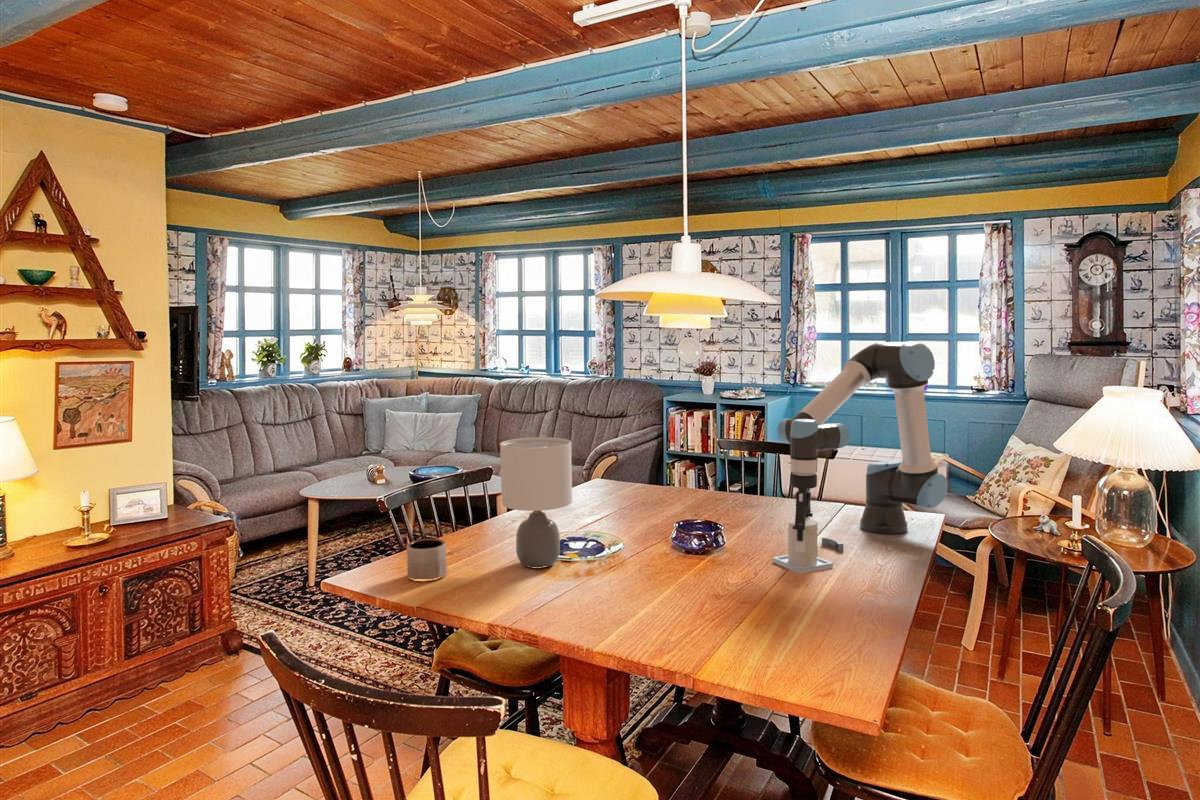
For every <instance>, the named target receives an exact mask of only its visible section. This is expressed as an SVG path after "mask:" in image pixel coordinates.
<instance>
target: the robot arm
mask: <svg viewBox="0 0 1200 800" xmlns="http://www.w3.org/2000/svg"><path fill="white" fill-rule="evenodd" d="M935 365H936V363H935V357H934V354H933V352H932V351H931V349H930V348H929V347H928V346H927V345H926V344H924V343H922V342H913V341H890V342H889V341H888V342H887V341H881V342H880V341H879V342H876V343H873V344H871V345H868V346H866V347H865V348H863V349H861V350H860V351H859V352H857V353H856V354H855V355H853V356H852V357H850V358H849V360H847V362H845V364H844V366H843V370H842V371H841V372H839V373H838V375H836V376H835V377H834V378H833V379H832V380H831V381H830V382H829V383H828V384H827V385H826V386H825V387H823V389H822V390H821V391H820V392H819V393H818V394H816V395H815V397H814V398H812V400H811V401H809V402H808V404H807V405H805V406H804V408H802V409H801V410H800V411H799V412H798V413H797V414H796V415H795V416H794V417H793V418H791V417H789V418H784V419H781V420H780V421H779V423H778V425H777V430H776V432H777V436H778V438H779V439H780V440H781V441H783V442H785V443H789V444H790V445H789V448H790V450H789V451H790V455H789V456H790V460H788V462H787V463H788V464H789V465H790V466H789V467H790V469H789V470H790V472H791V473H790V474H789V486H791V487H792V488H797V489H798V490H797V491H796V493H795V517H794V519H795V526H793V529H795V552H805V519H811V518H813V513H812V510H811V498H812V492H811V489H815V488H817V486H818V475H817V474H816V473H818V452H820V451H828V450H837V449H841V448H844V447H846V446H847V445H848V443H849V440H850V431H849V429H848V427H847V426H846V425H845V424H843V423H840V422H832V423H826V421H828V420H829V418H830V417H831V416H832V415H834V414H835V412H837V410H838V409H840V408H841V406H842V405H843V404H844V403H846V402H847V401H848V400H849V399H850V398H851V397H852V395H854V394H855V393H856V392H857V391H858V390H859V389H860V388H861V387H862V386H867V385H868V384H869V383H871V381H873V380H874V381H875V380H876V379H887V383H888V384H887V386H888V389H890V390H892V392H894V401H895V410H896V419H897V425H898V433H899V434H898V435H899V442H900V443H899V445H900V452H901V461H900V460H885V461H884V460H882V461H874V462H870V463H868V465H867V466H866V474H865V478H866V479H865V506H864V509H863V513H862V517H861V518H860V519H859V521H860V523H859V524H860V525H859V527H860V528H861V529H862V530H863V531H866V532H870V533H873V534H874V533H875V534H884V535H898V534H905V533H906V532H908V521H907V520H906V516H905V512H904V509H903V508H904V507H903V504H906V505H910V506H915V507H918V508H921V509H922V508H925V509H935V508H937V507H938V506H940V504H942V502H943V501H944V499H945V497H946V495H947V491H948V487H949V486H948V479H947V477H946V476H945V474H943V473H940V472H939V470H938V464H937V463H936V462H935V461H934V460H932V456H931V454H932V453H931V446H930V445H931V443H930V437H929V436H930V435H929V427H928V417H927V407H926V400H925V390H924V389H925V388H926V386H927V385H928V384H929V379H930V378H931V377H932V376H933V374H934V370H935ZM798 524H802V525H798Z"/></svg>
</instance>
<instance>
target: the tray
mask: <svg viewBox="0 0 1200 800" xmlns="http://www.w3.org/2000/svg"><path fill="white" fill-rule="evenodd" d="M772 563H774V564H776V565H778V566H780V567H782V568H785V569H788V570H790V571H791V572H794V573H796V574H799V575H801V574H806V573H811V572H812V573H813V572H817V571H822V570H823V571H824V570H828V569H829V570H830V569H833V568H834V563H833V562H831V561H830V560H826V559H823V558H821V557H819V556H817V564H816V565H813V566H808V567H801V566H795V565H792V564H790V563H789V562H788V554H786V555H780V556H773V557H772Z"/></svg>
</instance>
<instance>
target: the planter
mask: <svg viewBox="0 0 1200 800" xmlns="http://www.w3.org/2000/svg"><path fill="white" fill-rule="evenodd" d="M446 546H447V545H446V541H445V540H443V539H438V538H423V539H417V540H414V541H410V542H408V543H407V544H406V559H407V560H406V563H407V565H406V566H407V568H406V569H407V570H406V571H407V572H406V573H407V578H408V577H410V578H413V579H434V578H438V577H441V576H444V575H445V574H446V573H448V571H447V567H448V566H447V549H446ZM446 575H447V574H446ZM446 575H445V576H446ZM445 576H444V577H445Z"/></svg>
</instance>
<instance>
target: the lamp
mask: <svg viewBox="0 0 1200 800" xmlns="http://www.w3.org/2000/svg"><path fill="white" fill-rule="evenodd" d="M499 446H500V447H499V448H500V449H499V450H500V452H499V455H500V456H499V457H500V485H501V506H502V507H504V508H507V509H510V510H514V511H524V512H525V511H527V512H530V511H531V513H529V514H528V517H527V519H525V520H523V521H522V522H521V523H520V525H518V528H517V530H516V538H515V541H516V542H515V551H516V556H517V559H518V561H519V562H520V564H522V565H523V566H524V565H525V566H524V567H526V566H529V567H543V566H549V565H551V566H553V565H554V564H555V563H556V562H557V560H558V558H559V556H560V552H561V538H560V530H559V528H558V526H557V524H556V523H555V521H554V520H552V519H550V518H548V517H547V515H546V513H545V512H544V511H550V510H551V511H552V510H556V509H557V510H558V509H562V508H564V507H568V506H569V505H571V504H572V503H573V474H572V473H573V470H572V469H573V467H572V465H573V464H572V463H573V462H572V441H571V440H570V439H565V438H561V437H551V436H550V437H547V436H546V437H544V436H543V437H539V436H537V437H535V436H533V437H521V438H513V439H509V440H508V439H507V440H504V441H501V442H500V443H499ZM552 564H553V565H552ZM549 567H550V566H549Z"/></svg>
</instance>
